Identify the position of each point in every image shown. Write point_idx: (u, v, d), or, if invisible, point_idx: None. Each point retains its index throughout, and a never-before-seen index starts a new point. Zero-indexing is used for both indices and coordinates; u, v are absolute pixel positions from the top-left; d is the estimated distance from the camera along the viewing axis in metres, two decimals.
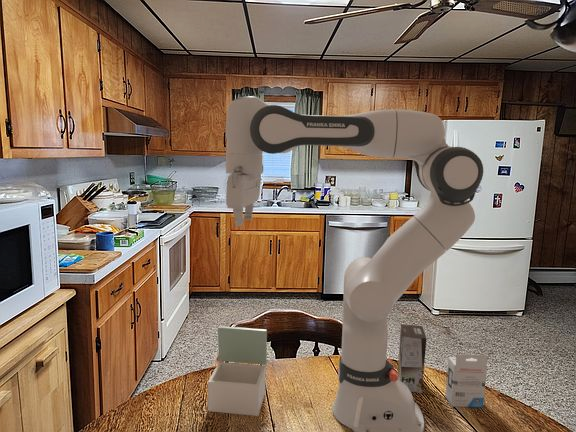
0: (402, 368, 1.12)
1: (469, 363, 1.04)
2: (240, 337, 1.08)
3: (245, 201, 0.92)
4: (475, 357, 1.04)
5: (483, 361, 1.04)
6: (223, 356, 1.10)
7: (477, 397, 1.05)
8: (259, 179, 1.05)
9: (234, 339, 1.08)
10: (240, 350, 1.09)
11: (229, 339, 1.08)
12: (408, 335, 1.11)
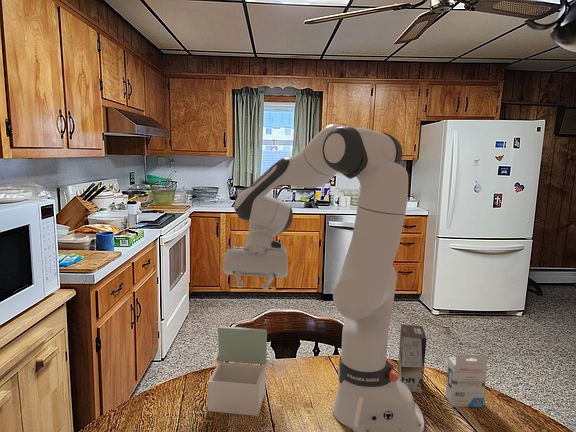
0: (402, 368, 1.12)
1: (469, 363, 1.04)
2: (240, 337, 1.08)
3: (233, 265, 1.22)
4: (475, 357, 1.04)
5: (483, 361, 1.04)
6: (223, 356, 1.10)
7: (477, 397, 1.05)
8: (281, 255, 1.23)
9: (234, 339, 1.08)
10: (240, 350, 1.09)
11: (229, 339, 1.08)
12: (408, 335, 1.11)
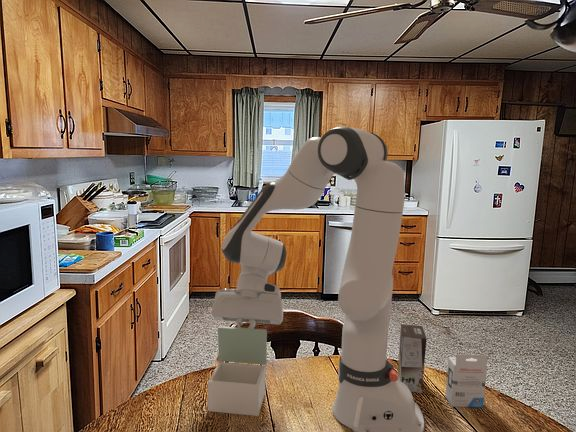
0: (402, 368, 1.12)
1: (469, 363, 1.04)
2: (240, 337, 1.08)
3: (223, 311, 1.12)
4: (475, 357, 1.04)
5: (483, 361, 1.04)
6: (223, 356, 1.10)
7: (477, 397, 1.05)
8: (275, 299, 1.13)
9: (234, 339, 1.08)
10: (240, 350, 1.09)
11: (229, 339, 1.08)
12: (408, 335, 1.11)
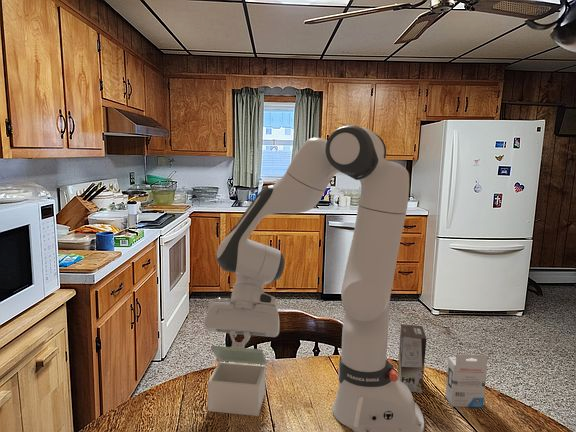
0: (402, 368, 1.12)
1: (469, 363, 1.04)
2: (235, 353, 1.03)
3: (217, 323, 1.07)
4: (475, 357, 1.04)
5: (483, 361, 1.04)
6: (222, 359, 1.09)
7: (477, 397, 1.05)
8: (271, 311, 1.07)
9: (230, 354, 1.04)
10: (238, 358, 1.06)
11: (224, 353, 1.04)
12: (408, 335, 1.11)
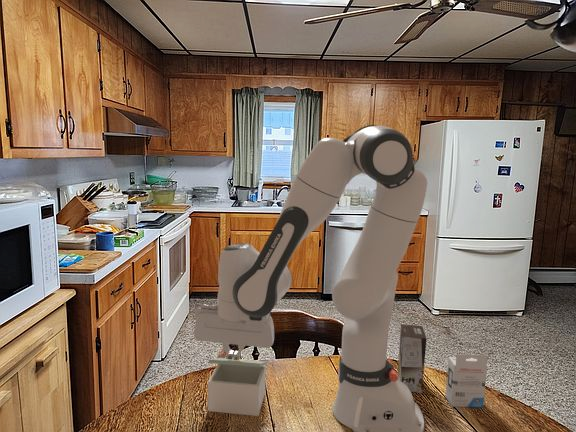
0: (402, 368, 1.12)
1: (469, 363, 1.04)
2: None
3: (207, 337, 1.00)
4: (475, 357, 1.04)
5: (483, 361, 1.04)
6: None
7: (477, 397, 1.05)
8: (263, 327, 0.98)
9: None
10: None
11: None
12: (408, 335, 1.11)
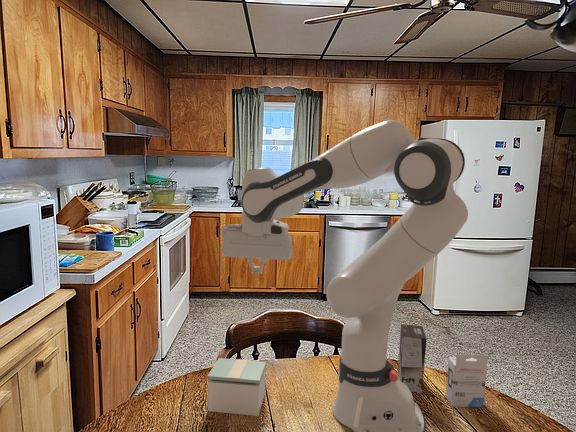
0: (402, 368, 1.12)
1: (469, 363, 1.04)
2: None
3: (233, 252, 1.13)
4: (475, 357, 1.04)
5: (483, 361, 1.04)
6: None
7: (477, 397, 1.05)
8: (283, 240, 1.10)
9: None
10: None
11: None
12: (408, 335, 1.11)
